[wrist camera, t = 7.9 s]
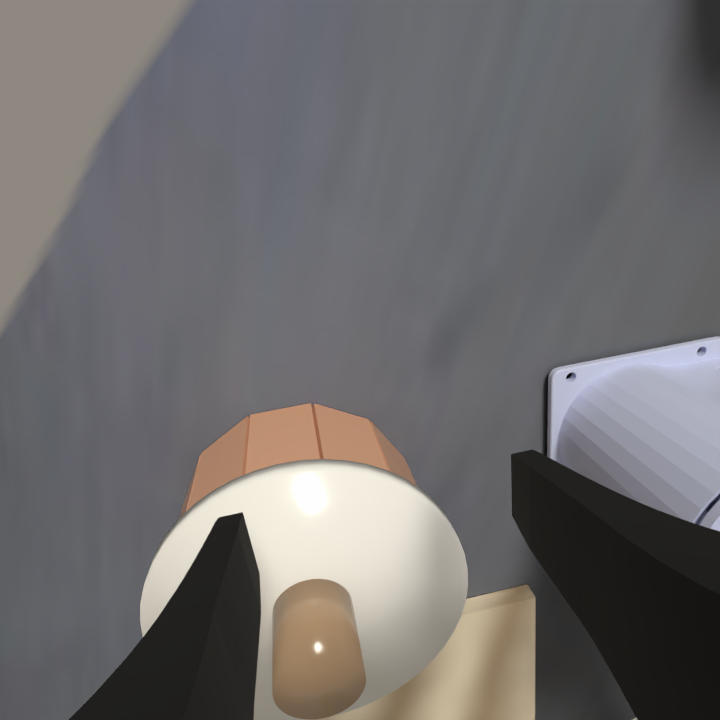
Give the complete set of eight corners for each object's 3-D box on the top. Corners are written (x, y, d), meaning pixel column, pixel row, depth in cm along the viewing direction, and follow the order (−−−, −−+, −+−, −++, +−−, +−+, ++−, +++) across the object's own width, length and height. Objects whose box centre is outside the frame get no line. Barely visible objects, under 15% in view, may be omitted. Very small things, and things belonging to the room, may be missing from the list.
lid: (500, 477, 20) (552, 547, 16) (416, 703, 24) (443, 799, 20) (161, 439, 17) (131, 514, 13) (132, 705, 21) (102, 818, 17)
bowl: (396, 386, 23) (427, 439, 19) (417, 563, 28) (445, 643, 23) (159, 432, 22) (129, 501, 18) (217, 610, 26) (206, 703, 22)
